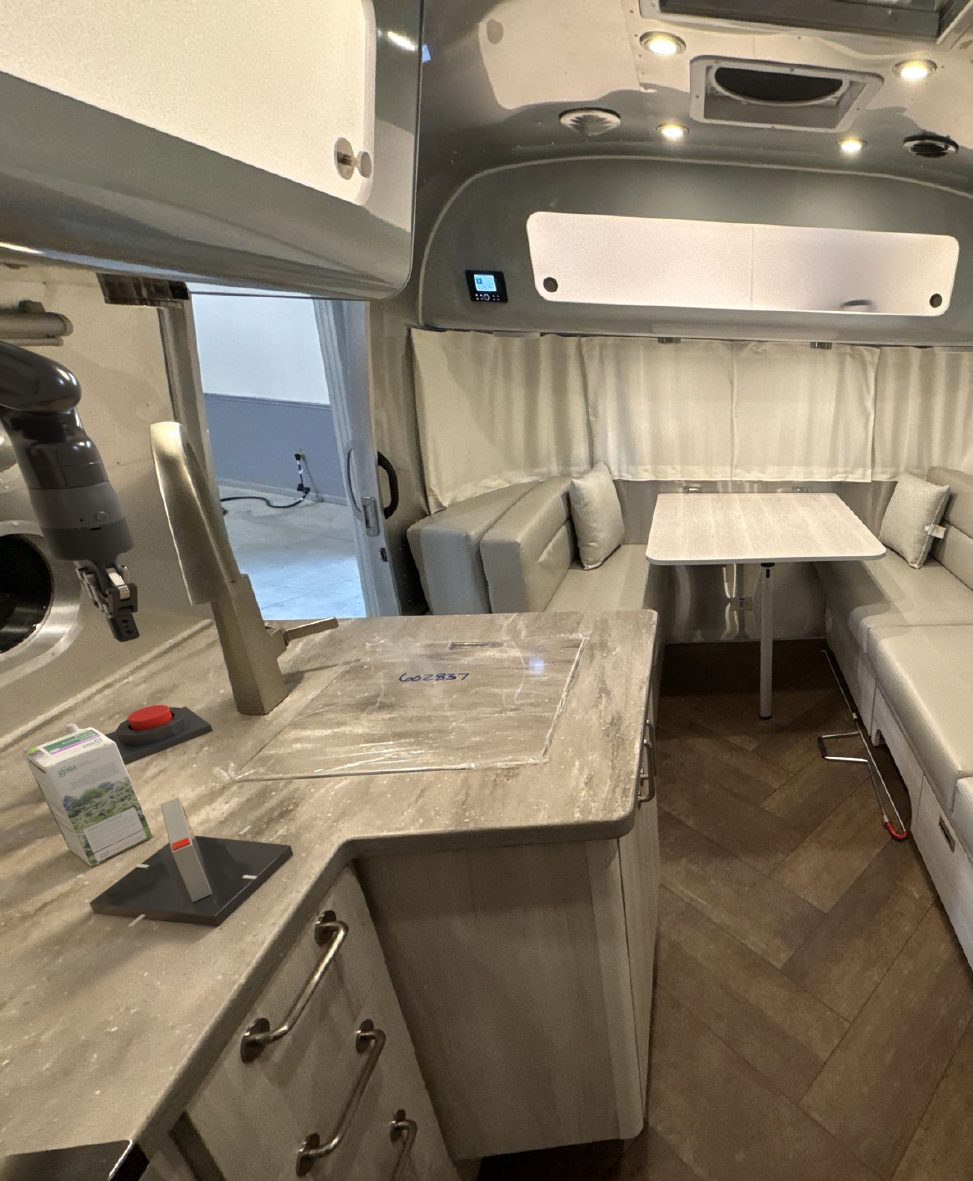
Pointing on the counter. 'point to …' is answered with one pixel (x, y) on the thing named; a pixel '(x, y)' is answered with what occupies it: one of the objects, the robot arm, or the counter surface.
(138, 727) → the power button
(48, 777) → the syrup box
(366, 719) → the counter surface
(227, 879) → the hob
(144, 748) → the black button base
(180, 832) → the gray battery pack
